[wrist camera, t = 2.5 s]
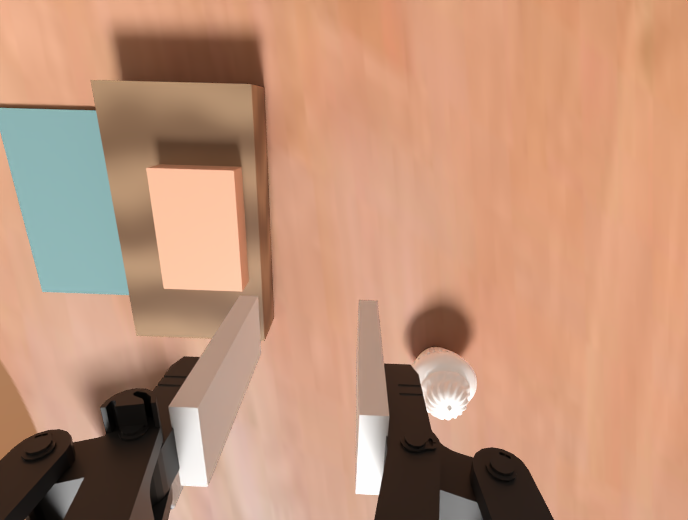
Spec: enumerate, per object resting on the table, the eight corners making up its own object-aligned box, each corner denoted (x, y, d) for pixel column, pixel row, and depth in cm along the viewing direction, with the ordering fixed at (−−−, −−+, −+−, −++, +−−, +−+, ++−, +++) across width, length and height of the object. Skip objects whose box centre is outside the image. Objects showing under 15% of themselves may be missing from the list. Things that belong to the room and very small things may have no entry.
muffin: (459, 389, 40) (480, 444, 33) (398, 383, 40) (406, 437, 33) (471, 335, 38) (496, 382, 31) (407, 329, 38) (417, 375, 31)
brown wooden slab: (122, 83, 31) (90, 79, 27) (264, 87, 31) (251, 84, 27) (158, 313, 38) (136, 335, 34) (273, 317, 38) (264, 340, 34)
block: (159, 164, 29) (146, 167, 27) (241, 166, 29) (233, 170, 27) (175, 278, 32) (163, 288, 30) (249, 280, 32) (242, 291, 30)
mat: (-3, 107, 32) (-7, 107, 32) (133, 111, 32) (131, 111, 31) (44, 290, 37) (42, 291, 37) (160, 294, 37) (159, 296, 37)
